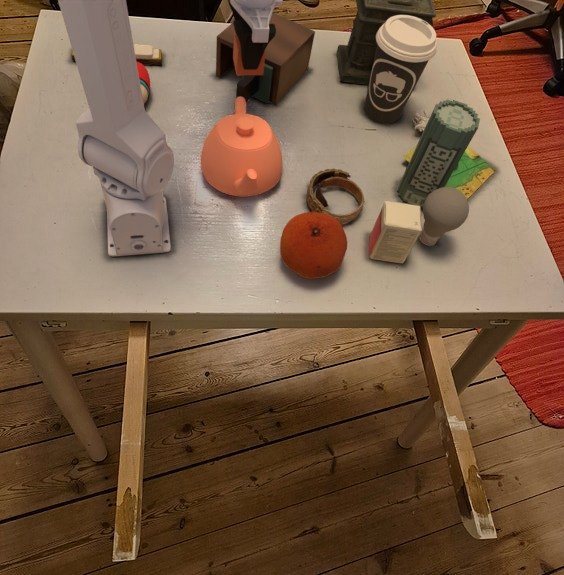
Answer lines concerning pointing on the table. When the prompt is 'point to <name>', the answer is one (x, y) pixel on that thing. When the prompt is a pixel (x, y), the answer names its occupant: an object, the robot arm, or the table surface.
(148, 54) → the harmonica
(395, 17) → the coffee cup
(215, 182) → the teapot
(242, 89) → the door
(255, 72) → the block
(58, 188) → the table surface
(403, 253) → the small box
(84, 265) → the table surface
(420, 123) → the stegosaurus
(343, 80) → the model
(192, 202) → the table surface
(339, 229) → the fruit
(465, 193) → the terrain map
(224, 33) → the cupboard
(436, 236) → the light bulb
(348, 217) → the bracelet
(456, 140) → the can
